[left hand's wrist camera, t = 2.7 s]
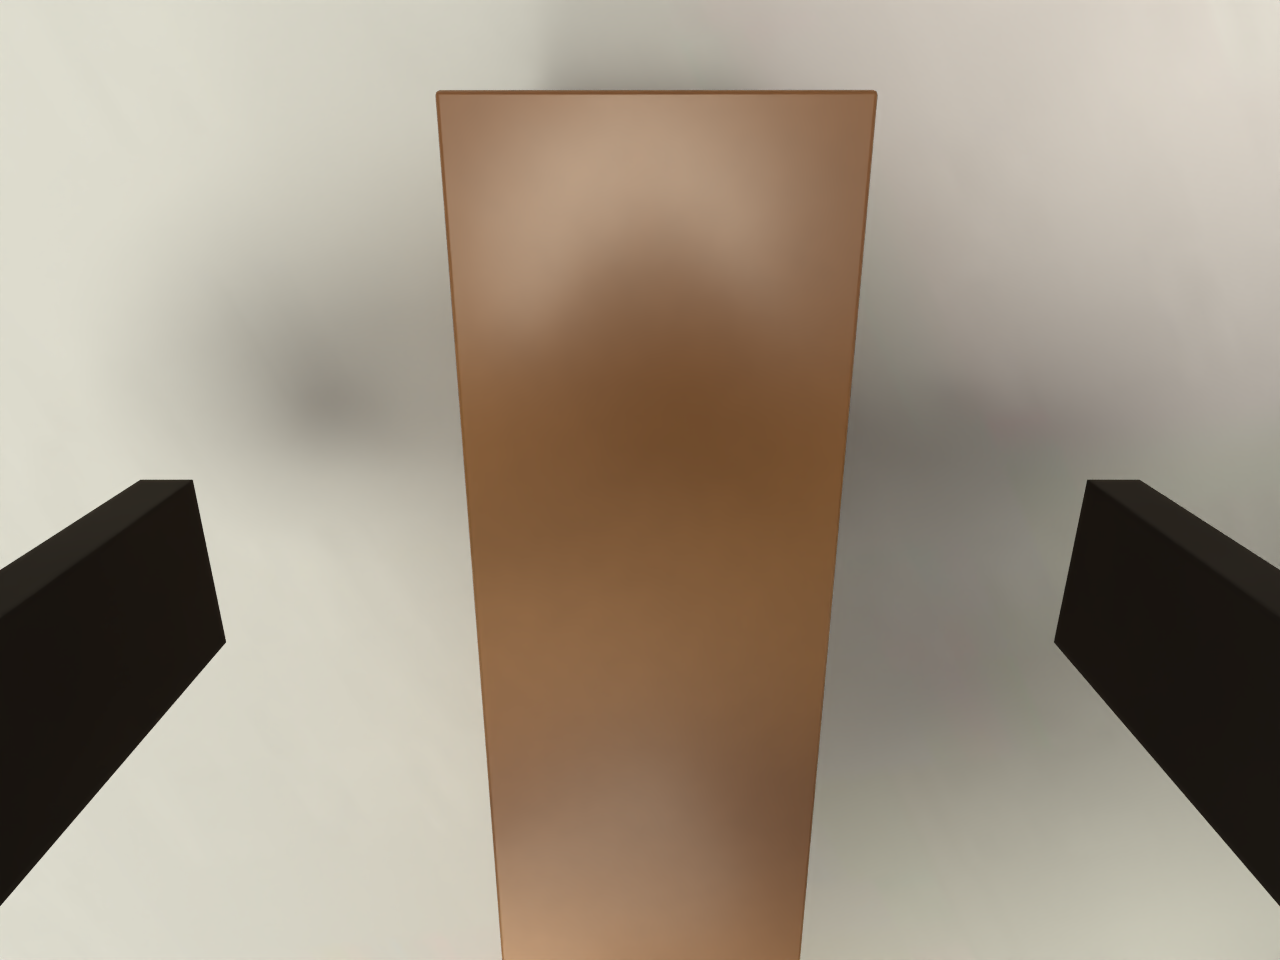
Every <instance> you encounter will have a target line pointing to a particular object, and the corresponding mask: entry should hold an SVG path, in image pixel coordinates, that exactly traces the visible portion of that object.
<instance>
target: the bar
mask: <svg viewBox="0 0 1280 960" xmlns="http://www.w3.org/2000/svg"><path fill="white" fill-rule="evenodd" d="M876 106H877V92H876V91H874V90H439V91H437V92H436V108H437V121H438V134H439V147H440V159H441V172H442V185H443V198H444V211H445V224H446V237H447V250H448V263H449V276H450V289H451V302H452V315H453V328H454V341H455V354H456V367H457V380H458V393H459V406H460V419H461V431H462V444H463V457H464V470H465V483H466V496H467V509H468V522H469V535H470V548H471V561H472V574H473V587H474V600H475V613H476V626H477V639H478V652H479V665H480V678H481V691H482V704H483V716H484V729H485V742H486V755H487V768H488V781H489V794H490V807H491V820H492V833H493V846H494V859H495V872H496V885H497V898H498V911H499V924H500V937H501V950H502V960H800V953H801V942H802V930H803V919H804V908H805V897H806V886H807V875H808V864H809V852H810V841H811V830H812V819H813V808H814V797H815V786H816V775H817V763H818V752H819V741H820V730H821V719H822V708H823V697H824V685H825V674H826V663H827V652H828V641H829V630H830V619H831V607H832V596H833V585H834V574H835V563H836V552H837V541H838V530H839V518H840V507H841V496H842V485H843V474H844V463H845V452H846V440H847V429H848V418H849V407H850V396H851V385H852V374H853V362H854V351H855V340H856V329H857V318H858V307H859V296H860V284H861V273H862V262H863V251H864V240H865V229H866V218H867V207H868V195H869V184H870V173H871V162H872V151H873V140H874V129H875V117H876Z"/></svg>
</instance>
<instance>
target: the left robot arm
mask: <svg viewBox="0 0 1280 960" xmlns="http://www.w3.org/2000/svg"><path fill="white" fill-rule="evenodd" d="M225 643H226V639H225V634H224V630H223V625H222V620H221V615H220V610H219V605H218V600H217V596H216V591H215V586H214V581H213V576H212V571H211V566H210V562H209V557H208V552H207V547H206V542H205V537H204V532H203V528H202V523H201V518H200V513H199V508H198V503H197V498H196V493H195V489H194V484H193V480H139V481H138V482H136V483H135V484H133V485H132V486H130V487H129V488H127V489H125V490H124V491H122V492H121V493H119V494H118V495H116V496H115V497H113V498H111V499H110V500H108V501H107V502H105V503H104V504H102V505H101V506H99V507H97V508H96V509H94V510H93V511H91V512H90V513H88V514H87V515H85V516H83V517H82V518H80V519H79V520H77V521H76V522H74V523H73V524H71V525H69V526H68V527H66V528H65V529H63V530H62V531H60V532H59V533H57V534H56V535H54V536H52V537H51V538H49V539H48V540H46V541H45V542H43V543H42V544H40V545H38V546H37V547H35V548H34V549H32V550H31V551H29V552H28V553H26V554H24V555H23V556H21V557H20V558H18V559H17V560H15V561H14V562H12V563H10V564H9V565H7V566H6V567H4V568H3V569H1V570H0V906H1V905H2V903H3V902H4V901H5V900H6V899H7V898H8V896H9V895H10V894H11V893H12V892H13V891H14V889H15V888H16V887H17V886H18V885H19V884H20V882H21V881H22V880H23V879H24V878H25V877H26V875H27V874H28V873H29V872H30V871H31V870H32V868H33V867H34V866H35V865H36V864H37V863H38V861H39V860H40V859H41V858H42V857H43V856H44V854H45V853H46V852H47V851H48V850H49V848H50V847H51V846H52V845H53V844H54V843H55V841H56V840H57V839H58V838H59V837H60V836H61V834H62V833H63V832H64V831H65V830H66V829H67V827H68V826H69V825H70V824H71V823H72V822H73V820H74V819H75V818H76V817H77V816H78V815H79V813H80V812H81V811H82V810H83V809H84V808H85V806H86V805H87V804H88V803H89V802H90V801H91V799H92V798H93V797H94V796H95V795H96V794H97V792H98V791H99V790H100V789H101V788H102V787H103V785H104V784H105V783H106V782H107V781H108V780H109V778H110V777H111V776H112V775H113V774H114V773H115V771H116V770H117V769H118V768H119V767H120V766H121V764H122V763H123V762H124V761H125V760H126V759H127V757H128V756H129V755H130V754H131V753H132V751H133V750H134V749H135V748H136V747H137V746H138V744H139V743H140V742H141V741H142V740H143V739H144V737H145V736H146V735H147V734H148V733H149V732H150V730H151V729H152V728H153V727H154V726H155V725H156V723H157V722H158V721H159V720H160V719H161V718H162V716H163V715H164V714H165V713H166V712H167V711H168V709H169V708H170V707H171V706H172V705H173V704H174V702H175V701H176V700H177V699H178V698H179V697H180V695H181V694H182V693H183V692H184V691H185V690H186V688H187V687H188V686H189V685H190V684H191V683H192V681H193V680H194V679H195V678H196V677H197V676H198V674H199V673H200V672H201V671H202V670H203V669H204V667H205V666H206V665H207V664H208V663H209V662H210V660H211V659H212V658H213V657H214V656H215V655H216V653H217V652H218V651H219V650H220V649H221V647H222V646H223V645H224V644H225ZM1054 643H1055V644H1056V645H1057V646H1058V647H1059V649H1060V650H1061V651H1062V652H1063V653H1064V655H1065V656H1066V657H1067V658H1068V659H1069V660H1070V662H1071V663H1072V664H1073V665H1074V666H1075V667H1076V669H1077V670H1078V671H1079V672H1080V673H1081V674H1082V676H1083V677H1084V678H1085V679H1086V680H1087V681H1088V683H1089V684H1090V685H1091V686H1092V687H1093V688H1094V690H1095V691H1096V692H1097V693H1098V694H1099V695H1100V697H1101V698H1102V699H1103V700H1104V701H1105V702H1106V704H1107V705H1108V706H1109V707H1110V708H1111V709H1112V711H1113V712H1114V713H1115V714H1116V715H1117V716H1118V718H1119V719H1120V720H1121V721H1122V722H1123V723H1124V725H1125V726H1126V727H1127V728H1128V729H1129V730H1130V732H1131V733H1132V734H1133V735H1134V736H1135V737H1136V739H1137V740H1138V741H1139V742H1140V743H1141V744H1142V746H1143V747H1144V748H1145V749H1146V750H1147V751H1148V753H1149V754H1150V755H1151V756H1152V757H1153V759H1154V760H1155V761H1156V762H1157V763H1158V764H1159V766H1160V767H1161V768H1162V769H1163V770H1164V771H1165V773H1166V774H1167V775H1168V776H1169V777H1170V778H1171V780H1172V781H1173V782H1174V783H1175V784H1176V785H1177V787H1178V788H1179V789H1180V790H1181V791H1182V792H1183V794H1184V795H1185V796H1186V797H1187V798H1188V799H1189V801H1190V802H1191V803H1192V804H1193V805H1194V806H1195V808H1196V809H1197V810H1198V811H1199V812H1200V813H1201V815H1202V816H1203V817H1204V818H1205V819H1206V820H1207V822H1208V823H1209V824H1210V825H1211V826H1212V827H1213V829H1214V830H1215V831H1216V832H1217V833H1218V834H1219V836H1220V837H1221V838H1222V839H1223V840H1224V841H1225V843H1226V844H1227V845H1228V846H1229V847H1230V848H1231V850H1232V851H1233V852H1234V853H1235V854H1236V856H1237V857H1238V858H1239V859H1240V860H1241V861H1242V863H1243V864H1244V865H1245V866H1246V867H1247V868H1248V870H1249V871H1250V872H1251V873H1252V874H1253V875H1254V877H1255V878H1256V879H1257V880H1258V881H1259V882H1260V884H1261V885H1262V886H1263V887H1264V888H1265V889H1266V891H1267V892H1268V893H1269V894H1270V895H1271V896H1272V898H1273V899H1274V900H1275V901H1276V902H1277V903H1278V905H1279V906H1280V570H1279V569H1277V568H1276V567H1274V566H1273V565H1271V564H1270V563H1268V562H1266V561H1265V560H1263V559H1262V558H1260V557H1259V556H1257V555H1256V554H1254V553H1252V552H1251V551H1249V550H1248V549H1246V548H1245V547H1243V546H1242V545H1240V544H1238V543H1237V542H1235V541H1234V540H1232V539H1231V538H1229V537H1228V536H1226V535H1224V534H1223V533H1221V532H1220V531H1218V530H1217V529H1215V528H1214V527H1212V526H1211V525H1209V524H1207V523H1206V522H1204V521H1203V520H1201V519H1200V518H1198V517H1197V516H1195V515H1193V514H1192V513H1190V512H1189V511H1187V510H1186V509H1184V508H1183V507H1181V506H1179V505H1178V504H1176V503H1175V502H1173V501H1172V500H1170V499H1169V498H1167V497H1165V496H1164V495H1162V494H1161V493H1159V492H1158V491H1156V490H1155V489H1153V488H1151V487H1150V486H1148V485H1147V484H1145V483H1144V482H1142V481H1141V480H1087V484H1086V489H1085V493H1084V498H1083V503H1082V508H1081V513H1080V518H1079V523H1078V528H1077V532H1076V537H1075V542H1074V547H1073V552H1072V557H1071V562H1070V566H1069V571H1068V576H1067V581H1066V586H1065V591H1064V596H1063V600H1062V605H1061V610H1060V615H1059V620H1058V625H1057V630H1056V634H1055V639H1054Z"/></svg>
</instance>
